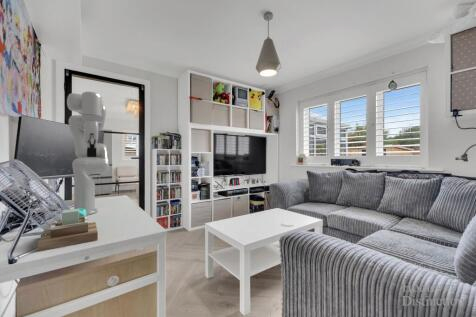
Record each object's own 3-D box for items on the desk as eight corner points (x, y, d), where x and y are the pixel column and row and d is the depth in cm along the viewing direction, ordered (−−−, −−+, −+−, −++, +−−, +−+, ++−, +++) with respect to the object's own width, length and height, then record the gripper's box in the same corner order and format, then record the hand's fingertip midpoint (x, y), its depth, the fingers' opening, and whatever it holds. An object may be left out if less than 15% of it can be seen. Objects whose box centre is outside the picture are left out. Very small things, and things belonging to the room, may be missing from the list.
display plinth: (44, 236, 85) (44, 219, 85) (95, 228, 95) (95, 213, 95) (38, 251, 72) (38, 231, 72) (97, 240, 83) (97, 222, 83)
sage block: (63, 222, 85) (63, 210, 84) (78, 220, 87) (79, 208, 87) (62, 226, 80) (62, 213, 80) (78, 223, 83) (78, 211, 83)
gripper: (81, 121, 102) (81, 156, 102) (81, 116, 88) (81, 157, 88) (100, 123, 107) (99, 156, 107) (103, 118, 93) (102, 157, 93)
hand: (91, 157), depth 97 cm, fingers open, 9 cm apart
